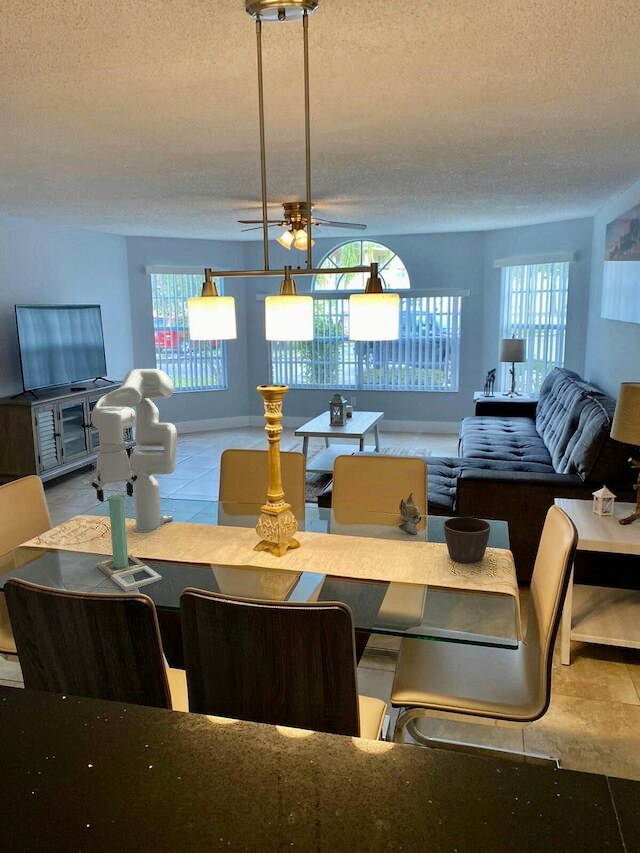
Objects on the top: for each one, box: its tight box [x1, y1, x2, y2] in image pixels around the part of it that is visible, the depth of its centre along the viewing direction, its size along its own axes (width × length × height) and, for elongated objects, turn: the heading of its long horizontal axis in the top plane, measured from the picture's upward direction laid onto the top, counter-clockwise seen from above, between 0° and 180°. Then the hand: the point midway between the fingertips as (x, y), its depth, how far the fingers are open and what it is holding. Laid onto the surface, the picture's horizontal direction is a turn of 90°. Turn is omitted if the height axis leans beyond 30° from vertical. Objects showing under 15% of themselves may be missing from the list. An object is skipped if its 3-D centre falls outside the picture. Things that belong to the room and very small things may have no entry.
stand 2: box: [110, 565, 163, 592], centre depth 205 cm, size 12×12×2 cm
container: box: [107, 493, 129, 570], centre depth 213 cm, size 6×6×25 cm
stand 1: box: [96, 554, 146, 579], centre depth 215 cm, size 12×12×2 cm
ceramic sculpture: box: [398, 492, 422, 536], centre depth 242 cm, size 11×9×15 cm
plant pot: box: [443, 516, 492, 565], centre depth 207 cm, size 15×15×16 cm
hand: (115, 498), depth 210 cm, fingers open, 9 cm apart
